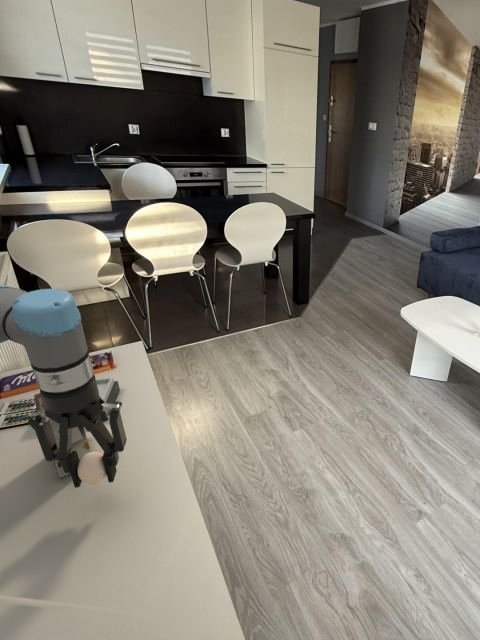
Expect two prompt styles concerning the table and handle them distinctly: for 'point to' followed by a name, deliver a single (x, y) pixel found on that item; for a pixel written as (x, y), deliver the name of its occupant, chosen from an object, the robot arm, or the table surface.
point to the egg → (91, 468)
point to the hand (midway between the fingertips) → (96, 478)
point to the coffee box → (78, 437)
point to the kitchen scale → (107, 392)
